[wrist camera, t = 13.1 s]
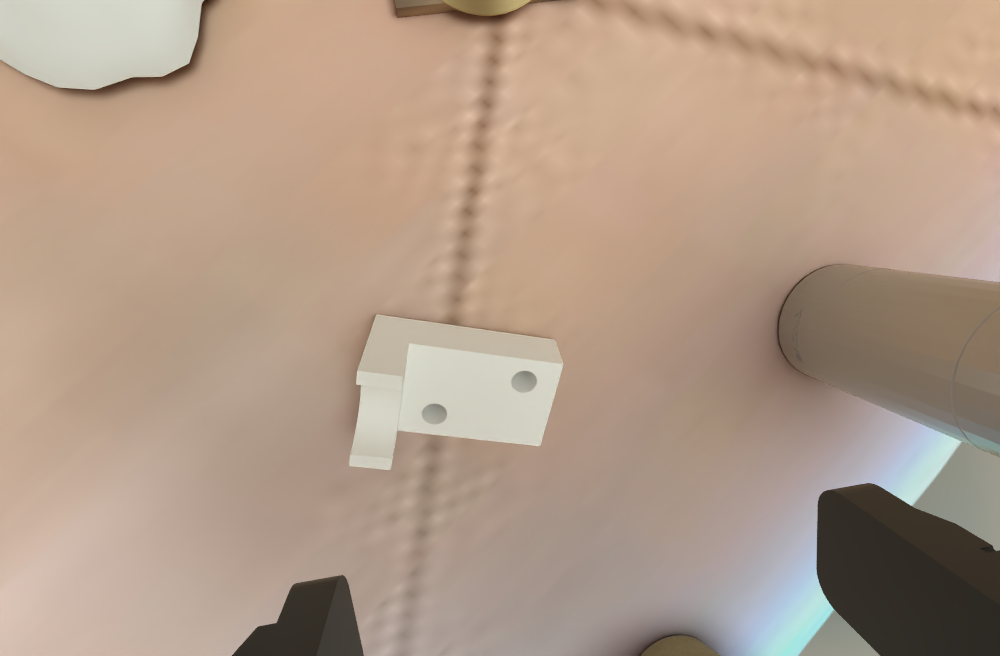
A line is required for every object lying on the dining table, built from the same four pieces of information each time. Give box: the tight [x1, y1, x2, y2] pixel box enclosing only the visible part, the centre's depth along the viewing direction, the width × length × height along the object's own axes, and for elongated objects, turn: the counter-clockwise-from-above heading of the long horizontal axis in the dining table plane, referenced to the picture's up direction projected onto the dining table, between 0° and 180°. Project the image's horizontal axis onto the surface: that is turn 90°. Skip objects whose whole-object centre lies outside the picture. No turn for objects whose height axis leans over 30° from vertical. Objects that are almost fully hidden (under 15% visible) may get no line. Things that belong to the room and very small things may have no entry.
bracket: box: [349, 314, 564, 470], centre depth 35 cm, size 13×7×8 cm, turn 80°
